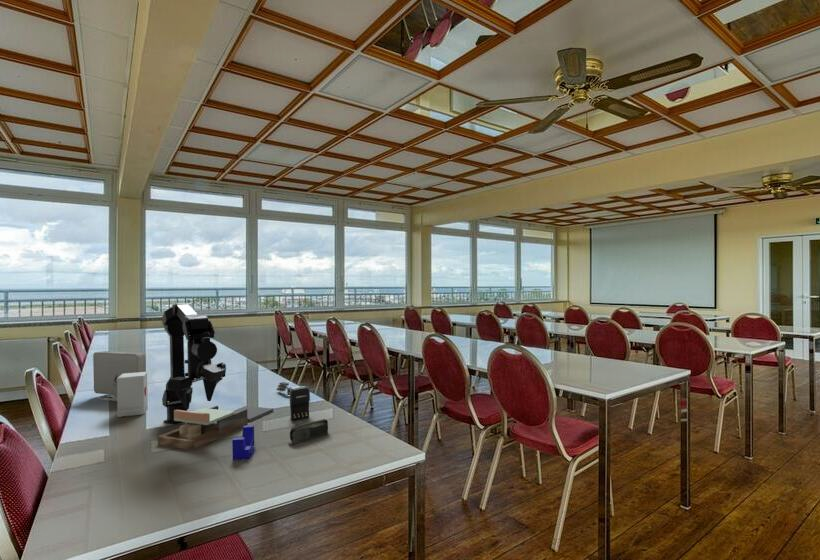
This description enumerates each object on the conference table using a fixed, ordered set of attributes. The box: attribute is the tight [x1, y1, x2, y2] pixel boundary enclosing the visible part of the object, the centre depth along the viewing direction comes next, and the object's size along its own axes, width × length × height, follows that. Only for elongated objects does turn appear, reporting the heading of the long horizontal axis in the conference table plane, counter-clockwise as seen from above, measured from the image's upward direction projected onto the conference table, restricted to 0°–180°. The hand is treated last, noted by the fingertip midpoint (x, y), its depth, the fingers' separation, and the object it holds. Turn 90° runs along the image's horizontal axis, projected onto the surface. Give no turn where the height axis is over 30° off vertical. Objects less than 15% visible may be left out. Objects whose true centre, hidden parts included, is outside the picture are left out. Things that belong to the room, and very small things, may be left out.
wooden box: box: [157, 405, 249, 451], centre depth 148 cm, size 14×24×6 cm, turn 159°
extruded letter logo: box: [276, 381, 293, 396], centre depth 192 cm, size 25×2×6 cm, turn 44°
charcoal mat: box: [233, 405, 274, 422], centre depth 168 cm, size 13×13×1 cm
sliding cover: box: [174, 407, 235, 425], centre depth 148 cm, size 14×12×3 cm
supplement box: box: [116, 371, 149, 418], centre depth 173 cm, size 9×9×15 cm
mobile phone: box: [287, 418, 329, 446], centre depth 142 cm, size 5×3×15 cm
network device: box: [92, 350, 147, 402], centre depth 196 cm, size 26×9×20 cm, turn 73°
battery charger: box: [289, 386, 311, 421], centre depth 162 cm, size 7×4×11 cm, turn 118°
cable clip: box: [231, 424, 255, 461], centre depth 132 cm, size 12×4×6 cm, turn 5°
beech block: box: [178, 422, 201, 440], centre depth 142 cm, size 4×4×5 cm
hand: (198, 404), depth 142 cm, fingers open, 9 cm apart
